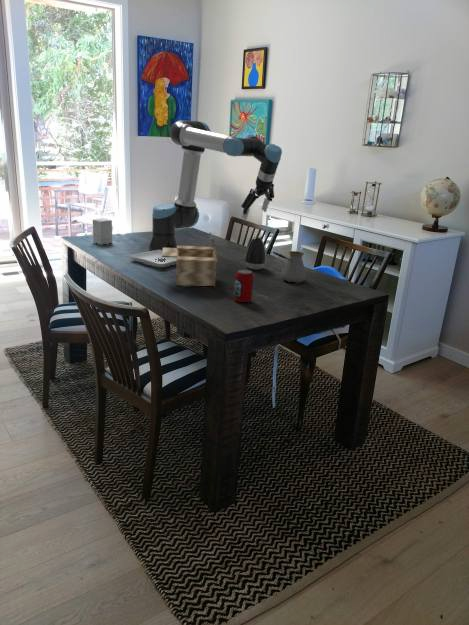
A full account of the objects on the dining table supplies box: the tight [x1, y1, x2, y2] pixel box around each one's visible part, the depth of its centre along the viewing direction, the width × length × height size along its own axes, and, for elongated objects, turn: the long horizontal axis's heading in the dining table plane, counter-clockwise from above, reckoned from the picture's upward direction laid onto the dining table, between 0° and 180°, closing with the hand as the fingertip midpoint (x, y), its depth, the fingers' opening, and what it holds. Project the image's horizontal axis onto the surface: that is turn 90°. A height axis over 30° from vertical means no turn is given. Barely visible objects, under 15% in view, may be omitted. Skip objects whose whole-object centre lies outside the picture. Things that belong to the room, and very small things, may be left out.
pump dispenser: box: [244, 236, 267, 271], centre depth 238 cm, size 10×10×15 cm
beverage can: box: [233, 268, 254, 303], centre depth 192 cm, size 7×7×12 cm
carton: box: [162, 245, 219, 288], centre depth 211 cm, size 22×24×13 cm
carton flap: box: [209, 231, 219, 259], centre depth 209 cm, size 8×13×1 cm
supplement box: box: [92, 217, 113, 246], centre depth 266 cm, size 7×7×13 cm
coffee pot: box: [271, 250, 308, 283], centre depth 220 cm, size 21×12×15 cm, turn 132°
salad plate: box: [129, 250, 177, 268], centre depth 239 cm, size 21×21×3 cm
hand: (254, 214), depth 245 cm, fingers open, 13 cm apart
